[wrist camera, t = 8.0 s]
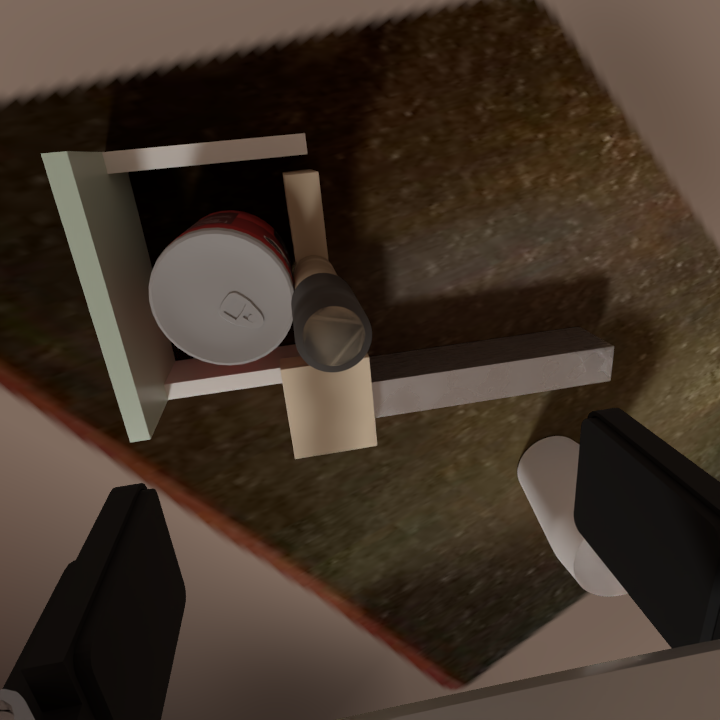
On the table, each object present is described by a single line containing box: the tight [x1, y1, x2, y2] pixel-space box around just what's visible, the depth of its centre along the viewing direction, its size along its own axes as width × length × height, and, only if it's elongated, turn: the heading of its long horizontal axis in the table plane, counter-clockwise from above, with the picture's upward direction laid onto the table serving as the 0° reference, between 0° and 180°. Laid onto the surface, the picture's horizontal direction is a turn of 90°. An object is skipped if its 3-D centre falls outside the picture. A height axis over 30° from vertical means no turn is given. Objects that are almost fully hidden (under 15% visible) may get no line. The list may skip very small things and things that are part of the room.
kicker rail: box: [369, 327, 614, 418], centre depth 41 cm, size 22×3×5 cm, turn 95°
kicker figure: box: [280, 169, 377, 459], centre depth 31 cm, size 6×19×18 cm, turn 5°
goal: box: [41, 133, 307, 442], centre depth 33 cm, size 13×16×10 cm
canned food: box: [149, 210, 295, 365], centre depth 33 cm, size 8×8×11 cm
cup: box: [517, 436, 628, 597], centre depth 44 cm, size 9×9×12 cm
